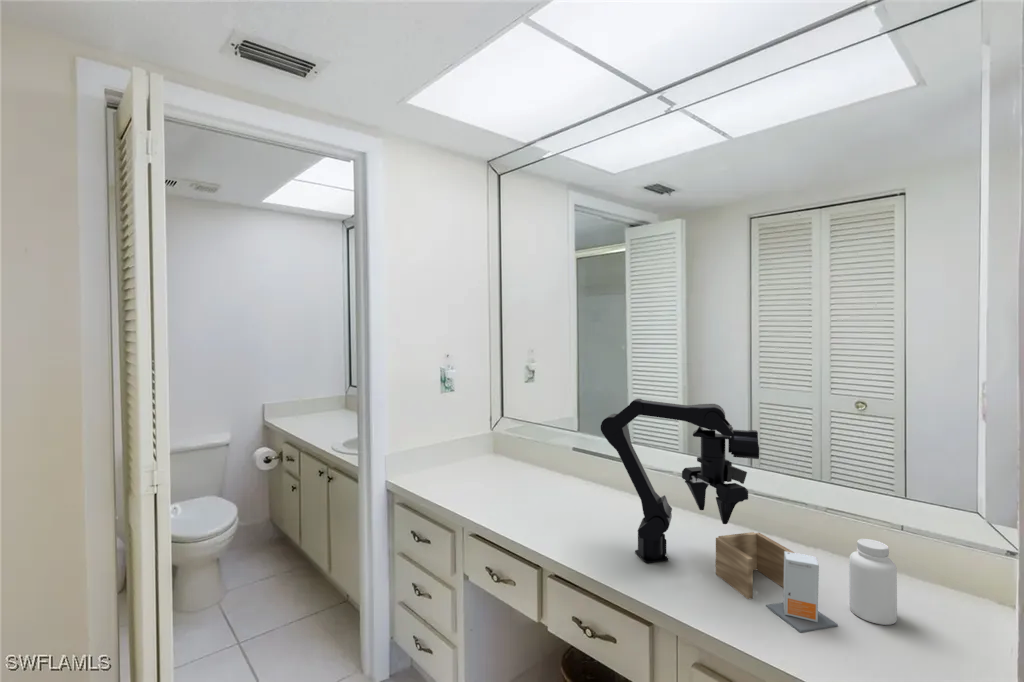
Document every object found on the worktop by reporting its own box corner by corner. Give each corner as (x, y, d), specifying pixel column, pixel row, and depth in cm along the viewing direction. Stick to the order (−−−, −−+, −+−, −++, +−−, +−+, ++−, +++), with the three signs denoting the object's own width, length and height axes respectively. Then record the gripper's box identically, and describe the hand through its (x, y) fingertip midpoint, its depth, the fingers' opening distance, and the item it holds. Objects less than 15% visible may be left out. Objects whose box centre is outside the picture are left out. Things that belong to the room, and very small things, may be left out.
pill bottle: (875, 603, 103) (875, 535, 103) (907, 625, 95) (908, 552, 95) (840, 604, 103) (840, 535, 103) (869, 627, 95) (869, 553, 95)
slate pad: (800, 632, 93) (800, 630, 93) (766, 606, 102) (766, 605, 102) (837, 626, 95) (837, 624, 95) (801, 601, 104) (801, 599, 104)
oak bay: (747, 599, 105) (748, 558, 105) (714, 572, 117) (714, 536, 117) (794, 591, 108) (795, 552, 108) (757, 566, 119) (757, 531, 119)
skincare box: (784, 615, 98) (784, 558, 98) (783, 605, 102) (783, 550, 102) (819, 623, 95) (819, 565, 95) (816, 612, 99) (816, 556, 99)
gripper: (768, 462, 111) (768, 528, 112) (717, 444, 129) (717, 501, 130) (726, 466, 109) (726, 533, 109) (680, 447, 127) (680, 504, 127)
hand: (712, 516), depth 119 cm, fingers open, 9 cm apart
